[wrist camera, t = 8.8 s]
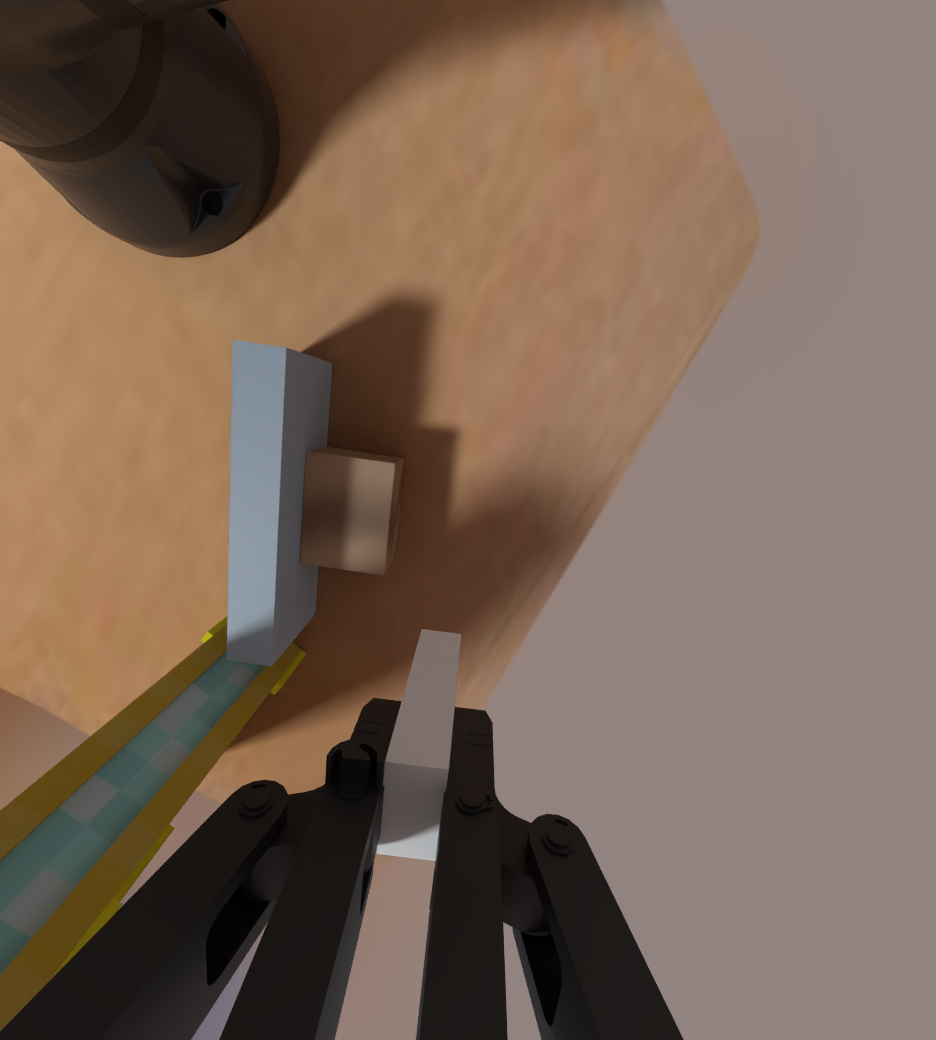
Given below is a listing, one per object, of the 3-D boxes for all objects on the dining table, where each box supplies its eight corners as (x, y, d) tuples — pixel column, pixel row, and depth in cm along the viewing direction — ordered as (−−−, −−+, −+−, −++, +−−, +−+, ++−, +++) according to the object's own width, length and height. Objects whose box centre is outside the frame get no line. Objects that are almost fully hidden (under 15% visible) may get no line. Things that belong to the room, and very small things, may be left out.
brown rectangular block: (328, 446, 35) (306, 451, 30) (405, 457, 35) (395, 463, 30) (321, 545, 36) (300, 563, 32) (395, 556, 37) (383, 575, 32)
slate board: (291, 357, 33) (232, 339, 25) (332, 363, 33) (286, 347, 25) (279, 608, 38) (226, 659, 30) (315, 614, 38) (271, 666, 30)
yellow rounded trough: (242, 604, 38) (-198, 951, 13) (306, 653, 39) (3, 1065, 14) (136, 733, 41) (-373, 1202, 17) (197, 776, 42) (-200, 1281, 17)
